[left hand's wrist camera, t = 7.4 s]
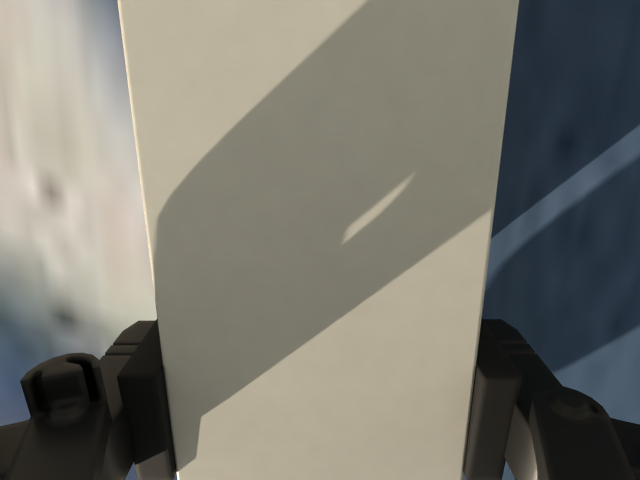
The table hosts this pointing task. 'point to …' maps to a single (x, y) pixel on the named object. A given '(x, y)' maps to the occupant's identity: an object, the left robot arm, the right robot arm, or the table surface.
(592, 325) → the table surface
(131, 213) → the table surface
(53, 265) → the table surface
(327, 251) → the cabinet
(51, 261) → the table surface
